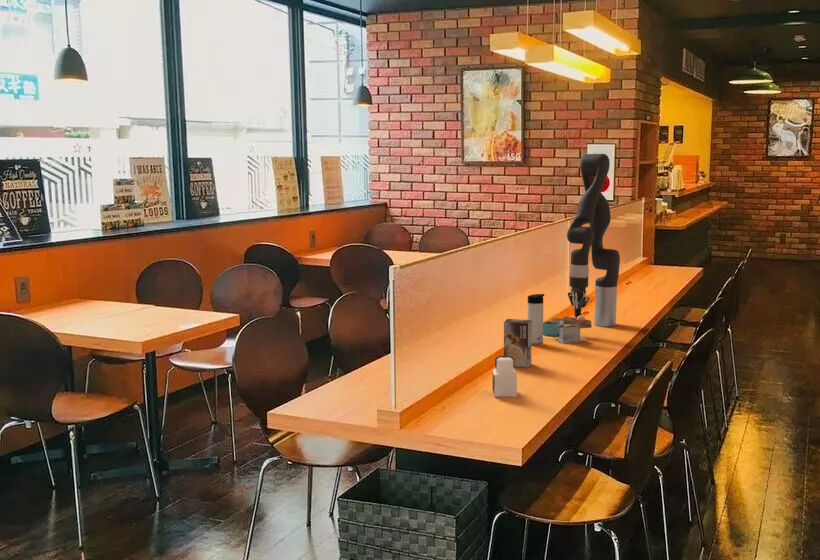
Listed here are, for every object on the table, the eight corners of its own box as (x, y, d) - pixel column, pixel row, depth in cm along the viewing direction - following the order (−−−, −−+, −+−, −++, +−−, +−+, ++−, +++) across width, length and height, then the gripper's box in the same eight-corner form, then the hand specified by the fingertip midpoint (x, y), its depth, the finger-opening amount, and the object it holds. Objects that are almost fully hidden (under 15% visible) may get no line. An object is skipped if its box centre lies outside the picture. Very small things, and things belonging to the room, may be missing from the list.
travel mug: (543, 346, 334) (544, 295, 331) (526, 345, 336) (526, 295, 332) (544, 342, 340) (544, 292, 337) (527, 341, 342) (528, 292, 338)
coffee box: (532, 363, 308) (532, 319, 305) (528, 368, 302) (529, 323, 299) (507, 361, 311) (507, 318, 308) (502, 365, 305) (503, 321, 302)
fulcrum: (578, 338, 347) (578, 317, 346) (586, 341, 342) (587, 320, 341) (554, 340, 343) (555, 319, 342) (562, 343, 338) (563, 322, 336)
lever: (579, 321, 354) (579, 315, 354) (606, 325, 336) (606, 318, 336) (552, 324, 349) (552, 317, 349) (578, 328, 331) (578, 321, 331)
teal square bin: (546, 331, 361) (547, 320, 360) (563, 333, 357) (564, 322, 356) (539, 334, 354) (539, 323, 354) (556, 336, 350) (556, 325, 349)
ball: (577, 320, 338) (579, 313, 336) (585, 322, 336) (586, 315, 335) (574, 323, 335) (576, 315, 334) (582, 325, 334) (583, 318, 332)
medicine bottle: (492, 390, 274) (492, 354, 272) (514, 390, 274) (515, 354, 272) (493, 397, 267) (494, 359, 265) (516, 397, 267) (517, 359, 265)
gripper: (562, 273, 353) (561, 314, 356) (580, 278, 341) (578, 320, 344) (577, 272, 356) (576, 313, 359) (596, 277, 344) (594, 319, 347)
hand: (577, 317), depth 351 cm, fingers closed
